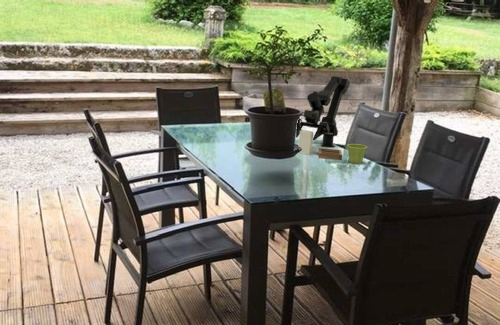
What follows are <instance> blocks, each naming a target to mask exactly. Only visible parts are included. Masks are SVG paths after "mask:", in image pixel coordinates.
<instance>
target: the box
mask: <svg viewBox="0 0 500 325" xmlns="http://www.w3.org/2000/svg"><path fill="white" fill-rule="evenodd" d="M317 154H318V159H324V160H337V161H342V160H343V153H342V149H335V148H333V149H332V148H322V147H320V148H318V153H317Z"/></svg>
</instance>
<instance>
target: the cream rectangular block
mask: <svg viewBox="0 0 500 325" xmlns="http://www.w3.org/2000/svg"><path fill="white" fill-rule="evenodd" d="M313 137H314V131H311V130H305V129H302V130H301V131H300V134H299V136H298V147H301V148H302V151H301V152H300V153H299V154H304V155H312V151H313V142H314V141H313Z"/></svg>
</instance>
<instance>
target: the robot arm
mask: <svg viewBox="0 0 500 325" xmlns="http://www.w3.org/2000/svg"><path fill="white" fill-rule="evenodd" d="M350 86H351V82H350V80H349V79H348V78H343V77H340V76H338V75H337V76H336V75H333V76H331V77H330V80H329V81H328V82H327V84H326V85H325V87H324V88H323V89H322V90H320V91H319V92H318V91H315V90H314V91H313V92H311V93H309V94H308V95H307V97H306V100H307V102H308V105H309V107H310V108H311V110H308V109H305V110H304V112H303V118H304V121H302V118H299V120H298V123H297V129H296V128H295V130H296V131H295V138H296V139H297V138H299V135H300V131H301V130H303V129H302V128H303V127H307V128H314V129H316V131H315V134H313V142H314V141H316V140H317V139H318V138H320V137H321V136H322V142H321V143H320V145H321V147H326V148H334V147H335V145H334V138H335V137H338V134H339V131H338V127H337V121H336V117H337V113H338V110H339V107H340V104H341V101H342V99H343V98H342V97H343V95H345V93H347V92H348V89H349V87H350ZM331 97H332V98H331ZM328 105H329V107H328V111H327V114H326V115H325V116H322V114H325V108H324V107H327V106H328ZM321 117H322V118H321Z"/></svg>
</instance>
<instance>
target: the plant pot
mask: <svg viewBox="0 0 500 325" xmlns="http://www.w3.org/2000/svg"><path fill="white" fill-rule="evenodd" d="M346 146H347V149H348V163H350V164H356V165H357V164H358V165H359V164H363V160H364V156H365V153H366V151H367V148H368V146H367V145H364V144H358V143H350V144H349V143H348V144H346Z"/></svg>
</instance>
